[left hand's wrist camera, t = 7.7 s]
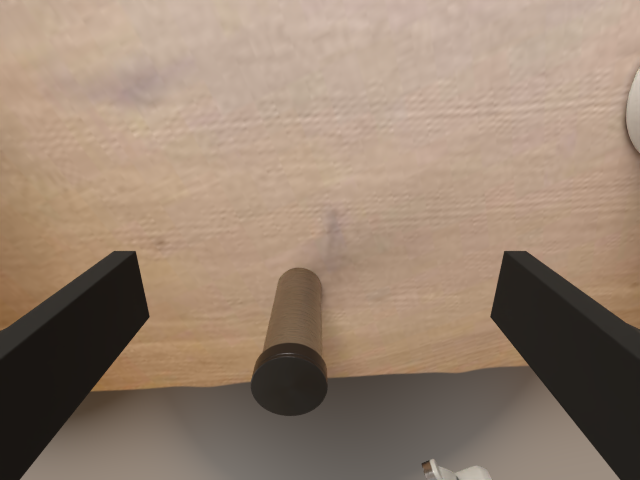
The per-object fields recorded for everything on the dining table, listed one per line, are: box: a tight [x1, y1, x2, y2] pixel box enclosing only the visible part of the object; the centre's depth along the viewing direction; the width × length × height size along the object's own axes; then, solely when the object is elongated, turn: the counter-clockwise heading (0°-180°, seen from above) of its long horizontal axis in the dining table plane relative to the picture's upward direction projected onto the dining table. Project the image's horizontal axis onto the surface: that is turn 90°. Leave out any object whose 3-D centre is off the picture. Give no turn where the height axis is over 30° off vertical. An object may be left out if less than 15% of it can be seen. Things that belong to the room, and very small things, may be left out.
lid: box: [251, 343, 327, 416], centre depth 27 cm, size 6×6×2 cm
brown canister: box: [262, 268, 322, 357], centre depth 33 cm, size 5×5×15 cm
